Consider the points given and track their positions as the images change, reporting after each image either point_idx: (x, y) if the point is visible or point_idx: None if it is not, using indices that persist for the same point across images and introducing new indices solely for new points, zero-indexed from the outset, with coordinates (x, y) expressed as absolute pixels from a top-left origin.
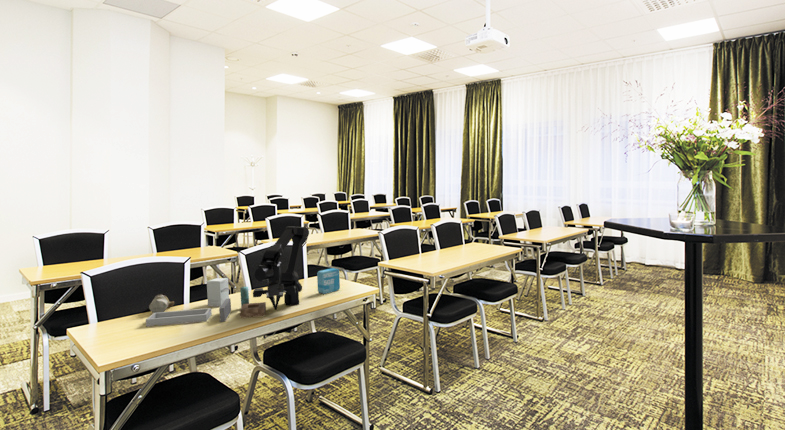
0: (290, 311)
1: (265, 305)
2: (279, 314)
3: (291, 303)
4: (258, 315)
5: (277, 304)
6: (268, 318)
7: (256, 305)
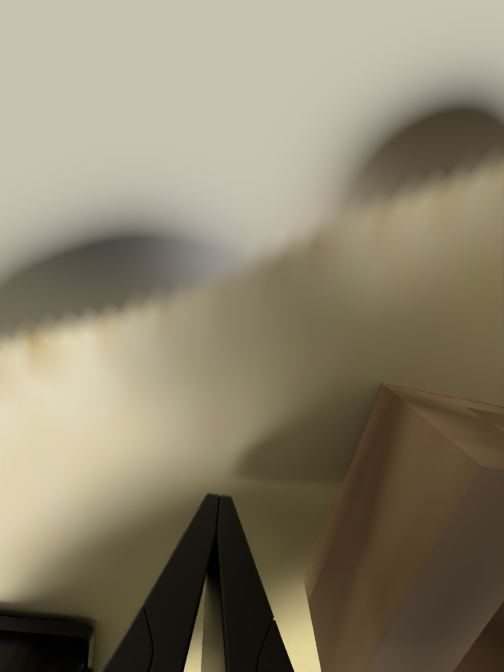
0: (36, 418)
1: (332, 643)
2: (189, 358)
3: (14, 645)
4: (457, 403)
5: (169, 573)
6: (362, 245)
7: (467, 662)
